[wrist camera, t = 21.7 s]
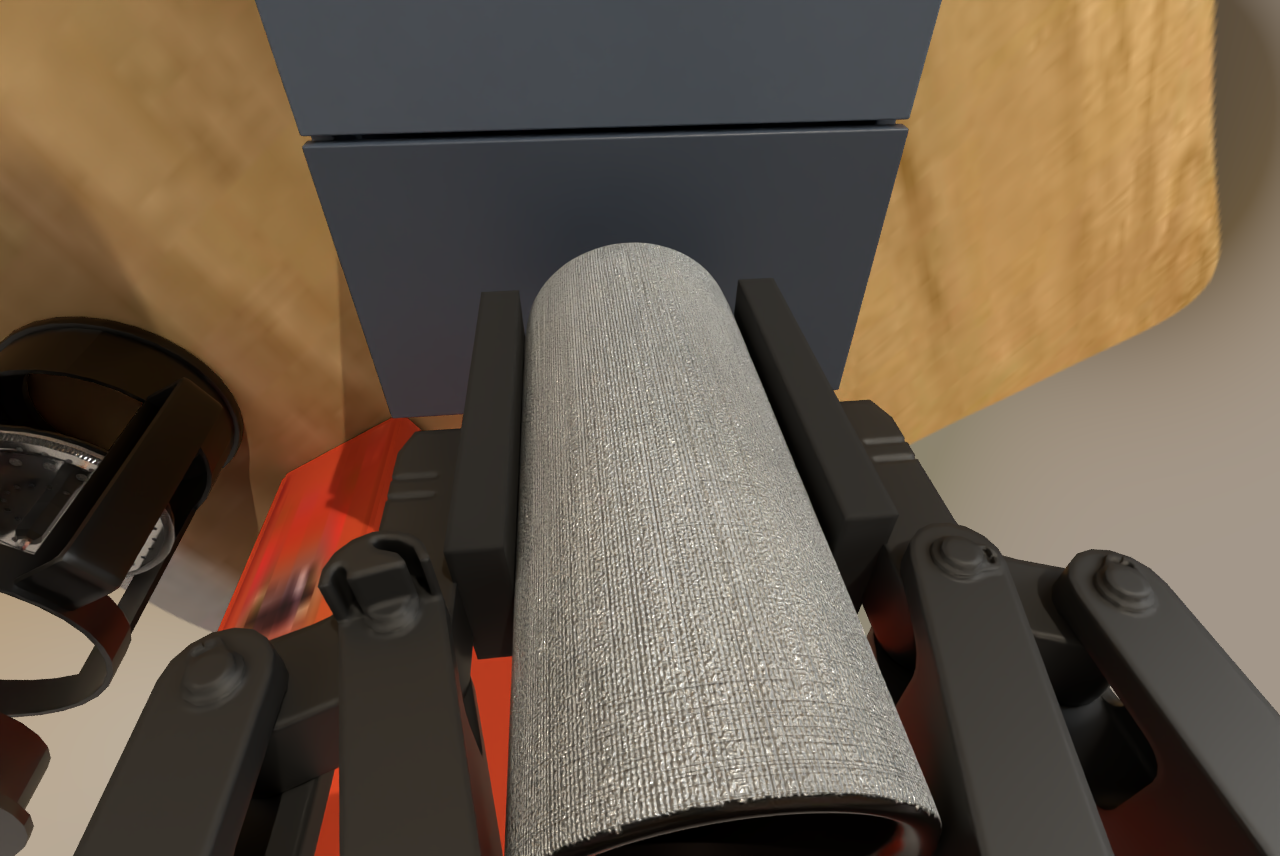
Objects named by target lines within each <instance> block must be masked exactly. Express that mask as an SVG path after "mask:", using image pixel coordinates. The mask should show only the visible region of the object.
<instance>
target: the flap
mask: <svg viewBox="0 0 1280 856" xmlns="http://www.w3.org/2000/svg"><path fill="white" fill-rule="evenodd" d="M941 1H942V0H255V2H256V5H257V8H258V11H259V14H260V17H261V20H262V23H263V26H264V29H265V32H266V35H267V38H268V41H269V44H270V47H271V50H272V53H273V56H274V59H275V62H276V65H277V68H278V71H279V74H280V77H281V80H282V83H283V86H284V89H285V91H286V94H287V97H288V100H289V103H290V106H291V109H292V112H293V115H294V118H295V121H296V124H297V127H298V130H299V133H300V135H301V136H328V135H364V134H400V133H435V132H471V131H506V130H542V129H577V128H613V127H649V126H684V125H720V124H755V123H791V122H827V121H862V120H898V119H909V117H910V114H911V110H912V106H913V103H914V99H915V95H916V92H917V88H918V84H919V81H920V77H921V74H922V70H923V66H924V63H925V59H926V55H927V52H928V48H929V45H930V41H931V37H932V34H933V30H934V26H935V23H936V19H937V15H938V12H939V8H940V5H941Z"/></svg>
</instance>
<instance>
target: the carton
mask: <svg viewBox="0 0 1280 856" xmlns="http://www.w3.org/2000/svg"><path fill="white" fill-rule="evenodd" d="M895 121H896V120H862V121H827V122H791V123H755V124H720V125H684V126H649V127H613V128H577V129H542V130H506V131H471V132H435V133H400V134H364V135H328V136H311V138H312V141H307V142H306V143H305V144H304V145H303V147H302V149H303V152H304V155H305V158H306V161H307V164H308V167H309V170H310V173H311V176H312V179H313V182H314V185H315V188H316V191H317V194H318V197H319V200H320V203H321V206H322V209H323V212H324V215H325V218H326V221H327V224H328V227H329V230H330V233H331V236H332V239H333V242H334V245H335V248H336V251H337V254H338V257H339V260H340V263H341V266H342V269H343V272H344V275H345V278H346V281H347V284H348V287H349V290H350V293H351V296H352V299H353V302H354V305H355V308H356V311H357V314H358V317H359V320H360V323H361V326H362V329H363V332H364V335H365V338H366V341H367V344H368V347H369V350H370V353H371V356H372V359H373V362H374V365H375V368H376V371H377V374H378V377H379V380H380V383H381V386H382V389H383V392H384V395H385V398H386V401H387V404H388V407H389V410H390V413H391V416H392V418H409V417H425V416H440V415H456V414H463V413H464V406H465V400H466V393H467V386H468V379H469V373H470V366H471V359H472V352H473V345H474V339H475V332H476V325H477V318H478V311H479V305H480V298H481V292H492V291H512V290H519V294H520V302H521V309H522V317H523V324H524V332H525V336H526V329H527V322H528V317H529V313H530V310H531V307H532V304H533V302H534V300H535V298H536V296H537V295H538V293H539V291H540V290H541V288H542V287H543V285H544V284H545V283H546V282H547V280H548V279H549V278H550V277H551V276H552V275H553V274H554V273H555V272H556V271H558V270H559V269H560V268H561V267H562V266H564V265H565V264H566V263H568V262H569V261H571V260H572V259H574V258H576V257H578V256H580V255H582V254H584V253H586V252H589V251H591V250H594V249H597V248H600V247H603V246H608V245H613V244H620V243H649V244H655V245H660V246H664V247H667V248H670V249H674V250H676V251H678V252H681V253H683V254H684V255H686V256H688V257H690V258H691V259H693V260H695V261H696V262H697V263H699V264H700V265H701V266H702V267H703V268H704V269H706V270H707V271H708V273H709V274H710V275H711V276H712V277H713V278H714V280H715V281H716V282H717V284H718V286H719V287H720V289H721V291H722V293H723V294H724V296H725V298H726V300H727V302H728V304H729V306H730V308H731V311H732V313H733V315H734V310H735V302H736V293H737V285H738V280H739V279H759V278H774V280H775V282H776V284H777V286H778V288H779V289H780V291H781V293H782V295H783V297H784V299H785V301H786V303H787V304H788V306H789V308H790V310H791V312H792V314H793V316H794V318H795V319H796V321H797V323H798V325H799V327H800V329H801V331H802V333H803V335H804V336H805V338H806V340H807V342H808V344H809V346H810V348H811V350H812V351H813V353H814V355H815V357H816V359H817V361H818V363H819V365H820V366H821V368H822V370H823V372H824V374H825V376H826V378H827V380H828V381H829V383H830V385H831V387H832V389H833V390H838V389H839V385H840V382H841V378H842V374H843V371H844V367H845V363H846V359H847V356H848V352H849V348H850V345H851V341H852V337H853V334H854V330H855V326H856V323H857V319H858V315H859V311H860V308H861V304H862V300H863V297H864V293H865V289H866V286H867V282H868V278H869V275H870V271H871V267H872V263H873V260H874V256H875V252H876V249H877V245H878V241H879V238H880V234H881V230H882V226H883V223H884V219H885V215H886V212H887V208H888V204H889V201H890V197H891V193H892V190H893V186H894V182H895V178H896V175H897V171H898V167H899V164H900V160H901V156H902V153H903V149H904V145H905V141H906V138H907V134H908V128H907V127H905V126H904V125H903V124H895Z"/></svg>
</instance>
